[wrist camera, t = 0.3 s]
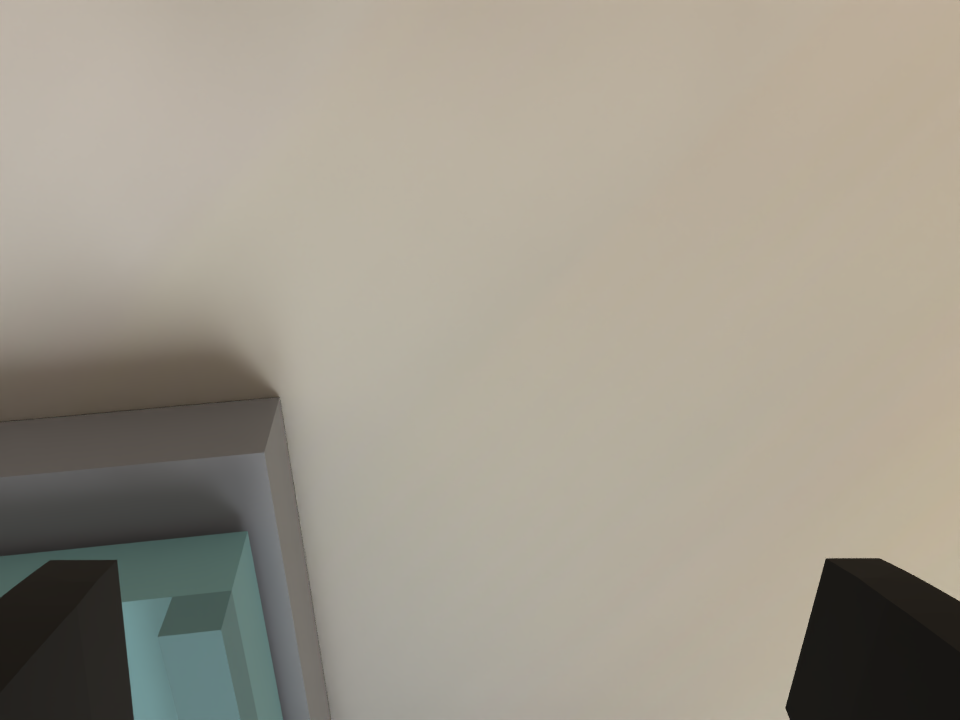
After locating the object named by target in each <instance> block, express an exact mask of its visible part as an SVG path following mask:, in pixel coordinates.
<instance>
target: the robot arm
mask: <svg viewBox="0 0 960 720" xmlns="http://www.w3.org/2000/svg"><path fill="white" fill-rule="evenodd" d="M786 711H787V713H788V716H789V718H790V720H960V601H958V600H956V599H955V598H953V597H951V596H949V595H948V594H946V593H944V592H942V591H941V590H939V589H937V588H936V587H934V586H932V585H930V584H928V583H927V582H925V581H923V580H921V579H919V578H917V577H916V576H914V575H912V574H910V573H908V572H906V571H904V570H902V569H900V568H898V567H896V566H894V565H892V564H890V563H888V562H886V561H884V560H882V559H880V558H829V559H826V560H825V564H824V567H823V571H822V575H821V579H820V582H819V586H818V590H817V593H816V597H815V601H814V604H813V608H812V612H811V615H810V619H809V623H808V627H807V630H806V634H805V638H804V641H803V645H802V649H801V652H800V656H799V660H798V663H797V667H796V671H795V675H794V678H793V682H792V686H791V689H790V693H789V697H788V700H787V704H786ZM0 720H134V715H133V705H132V696H131V686H130V677H129V667H128V658H127V648H126V639H125V629H124V620H123V610H122V601H121V591H120V582H119V572H118V563H117V560H49V561H48V562H47V563H45V564H44V565H42V566H41V567H40V568H38V569H37V570H36V571H34V572H33V573H31V574H30V575H29V576H28V577H26V578H25V579H24V580H22V581H21V582H20V583H18V584H17V585H16V586H15V587H13V588H12V589H11V590H9V591H8V592H7V593H6V594H4V595H3V596H2V597H0Z"/></svg>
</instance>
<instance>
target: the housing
mask: <svg viewBox="0 0 960 720" xmlns="http://www.w3.org/2000/svg"><path fill="white" fill-rule="evenodd" d="M243 531H248V536H249V541H250V546H251V552H252V557H253V562H254V568H255V573H256V578H257V583H258V589H259V594H260V599H261V605H262V610H263V615H264V621H265V626H266V631H267V637H268V642H269V647H270V652H271V658H272V663H273V668H274V674H275V679H276V684H277V690H278V695H279V700H280V706H281V711H282V716H283V720H331V717H330V710H329V704H328V698H327V691H326V685H325V679H324V673H323V666H322V660H321V654H320V647H319V641H318V635H317V628H316V622H315V616H314V610H313V603H312V597H311V591H310V584H309V578H308V572H307V565H306V559H305V553H304V547H303V540H302V534H301V528H300V521H299V515H298V509H297V503H296V496H295V490H294V484H293V477H292V471H291V465H290V458H289V452H288V446H287V440H286V433H285V427H284V421H283V414H282V408H281V402H280V397H275V398H264V399H253V400H242V401H231V402H219V403H208V404H197V405H186V406H175V407H164V408H153V409H142V410H130V411H119V412H108V413H97V414H86V415H75V416H64V417H53V418H41V419H30V420H19V421H8V422H0V556H8V555H18V554H28V553H38V552H48V551H57V550H67V549H77V548H87V547H96V546H106V545H116V544H126V543H136V542H145V541H155V540H165V539H175V538H184V537H194V536H204V535H214V534H224V533H233V532H243Z"/></svg>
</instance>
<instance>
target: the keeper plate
mask: <svg viewBox="0 0 960 720" xmlns="http://www.w3.org/2000/svg"><path fill="white" fill-rule="evenodd" d="M49 560H117V563H118V572H119V582H120V591H121V601H122V610H123V620H124V629H125V639H126V648H127V658H128V667H129V677H130V686H131V696H132V705H133V715H134V720H283V716H282V711H281V706H280V700H279V695H278V690H277V684H276V679H275V674H274V668H273V663H272V658H271V652H270V647H269V642H268V637H267V631H266V626H265V621H264V615H263V610H262V605H261V599H260V594H259V589H258V583H257V578H256V573H255V568H254V562H253V557H252V552H251V546H250V541H249V536H248V531H243V532H233V533H224V534H214V535H204V536H194V537H184V538H175V539H165V540H155V541H145V542H136V543H126V544H116V545H106V546H96V547H87V548H77V549H67V550H57V551H48V552H38V553H28V554H18V555H8V556H0V597H2V596H3V595H4V594H6V593H7V592H8V591H9V590H11V589H12V588H13V587H15V586H16V585H17V584H18V583H20V582H21V581H22V580H24V579H25V578H26V577H28V576H29V575H30V574H31V573H33V572H34V571H36V570H37V569H38V568H40V567H41V566H42V565H44V564H45V563H47V562H48V561H49Z"/></svg>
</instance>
